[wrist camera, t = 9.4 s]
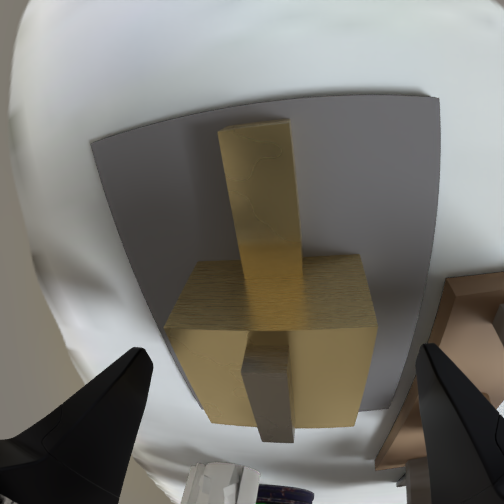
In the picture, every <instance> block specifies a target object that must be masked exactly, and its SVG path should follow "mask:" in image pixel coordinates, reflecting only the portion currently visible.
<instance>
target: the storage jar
mask: <svg viewBox="0 0 504 504" xmlns="http://www.w3.org/2000/svg"><path fill="white" fill-rule="evenodd" d="M313 499H314V493H313V492H311V491H308V490H304V489H299V488H293V487H285V486H275V485H259V487H258V493H257V498H256V504H312V501H313Z"/></svg>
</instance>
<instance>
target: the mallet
mask: <svg viewBox="0 0 504 504" xmlns="http://www.w3.org/2000/svg"><path fill="white" fill-rule="evenodd" d="M217 133H218V138H219V144H220V149H221V155H222V161H223V166H224V172H225V177H226V183H227V188H228V193H229V199H230V204H231V210H232V215H233V220H234V226H235V231H236V236H237V242H238V247H239V252H240V257H241V260H221V261H198V262H197V264H196V266H195V267H194V269H193V271H192V273H191V275H190V277H189V279H188V281H187V283H186V285H185V286H184V288H183V290H182V292H181V294H180V296H179V298H178V300H177V302H176V304H175V306H174V308H173V310H172V312H171V314H170V316H169V318H168V320H167V322H166V324H165V326H164V330H165V333H166V335H167V337H168V339H169V341H170V343H171V346H172V348H173V350H174V352H175V354H176V356H177V358H178V360H179V362H180V364H181V366H182V368H183V370H184V372H185V374H186V376H187V378H188V380H189V382H190V384H191V386H192V388H193V390H194V392H195V394H196V396H197V398H198V399H199V401H200V403H201V405H202V407H203V409H204V410H205V412H206V414H207V416H208V418H209V419H210V421H211V423H216V424H225V425H236V426H248V427H257V428H258V431H259V434H260V437H261V440H262V442H274V443H294V433H295V428H335V427H352V426H354V425H355V422H356V418H357V415H358V411H359V408H360V404H361V400H362V397H363V393H364V389H365V385H366V381H367V377H368V373H369V368H370V364H371V359H372V355H373V350H374V345H375V340H376V335H377V330H378V324H377V319H376V315H375V311H374V307H373V302H372V298H371V294H370V290H369V286H368V283H367V279H366V275H365V271H364V268H363V264H362V261H361V257H360V254H353V255H332V256H311V257H303V247H302V233H301V220H300V208H299V197H298V186H297V176H296V166H295V156H294V147H293V138H292V130H291V121H290V119H281V120H271V121H262V122H253V123H245V124H238V125H231V126H226V127H225V128H223V129H221V130H220V131H218V132H217Z"/></svg>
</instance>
